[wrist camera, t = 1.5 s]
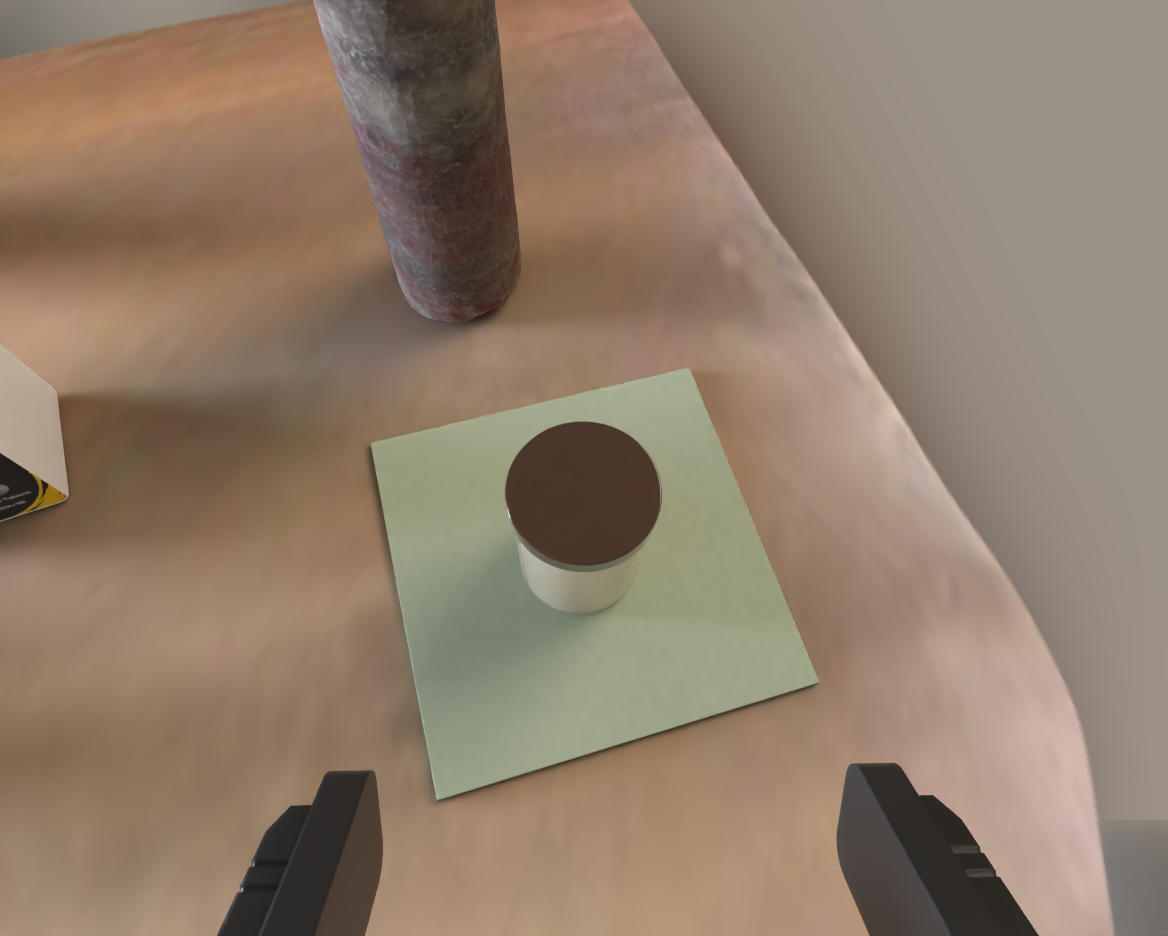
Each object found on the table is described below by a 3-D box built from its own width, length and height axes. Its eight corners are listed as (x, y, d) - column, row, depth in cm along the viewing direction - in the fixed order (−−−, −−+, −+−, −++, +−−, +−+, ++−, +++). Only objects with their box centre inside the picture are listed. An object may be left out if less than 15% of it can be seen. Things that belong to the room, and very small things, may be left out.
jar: (636, 625, 35) (654, 575, 28) (506, 607, 35) (490, 552, 28) (649, 504, 38) (669, 430, 30) (528, 487, 38) (519, 410, 31)
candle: (397, 233, 45) (287, -152, 27) (515, 222, 46) (483, -161, 28) (401, 333, 42) (279, -29, 24) (528, 321, 43) (501, -42, 25)
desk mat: (688, 370, 42) (689, 367, 41) (817, 683, 34) (819, 682, 34) (371, 445, 39) (370, 442, 39) (437, 800, 32) (436, 800, 31)
